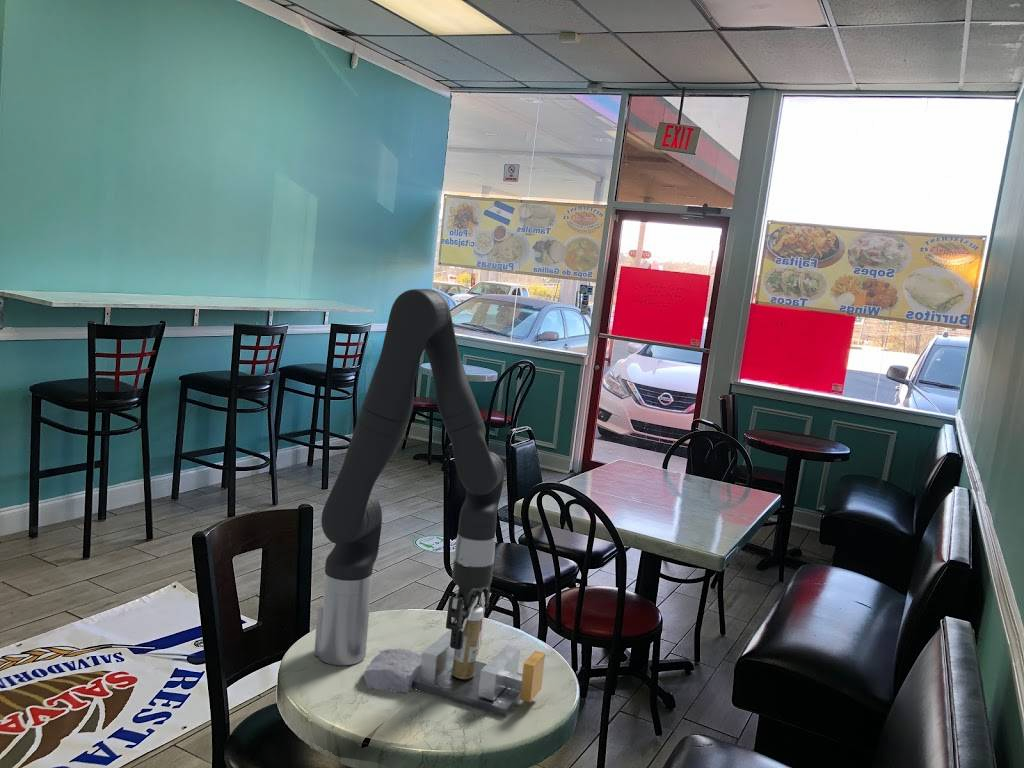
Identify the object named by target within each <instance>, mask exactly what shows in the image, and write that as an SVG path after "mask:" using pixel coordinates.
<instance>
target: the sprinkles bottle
mask: <svg viewBox="0 0 1024 768" xmlns="http://www.w3.org/2000/svg"><path fill="white" fill-rule="evenodd" d="M462 613H467V612H462ZM482 617H483V608H482V607H481V606H479V605H478V606H477V607H476V608H475V609H473V612H472V615H471V618H470V619H469V620H467V622H466V624H465V627H464V635H463V645H462V648H461V649H460V650H457V649H455V650H454V661H453V668H452V671H451V673H452V675H453V676H455V677H456V678H459V679H470V678H472V677H473V676H474V675H475V672H474V670H475V662H476V661H477V657H478V655H477V648H478V641H479V631H480V624H481V619H482ZM462 619H463V618H462ZM461 622H462V620H461Z"/></svg>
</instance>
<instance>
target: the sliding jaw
mask: <svg viewBox="0 0 1024 768" xmlns="http://www.w3.org/2000/svg"><path fill="white" fill-rule="evenodd" d="M520 655H521V649H520V648H516V647H513V646H509V645H505V646H504V647H502V649H501V650H500V651H499V652H498V653H497V654H495V656H493V658H492V659H490V660H489V662H487V663H486V664H487V665H486V666H484V667H483V668H482V669H481V674H480V684H479V694H478V696H480V697H483V698H486V699H489V700H493V701H494V699H495V698H496V697H497V696H498V695H499V694H500V693H501V692H502V691H503V689H504V688H505V687H508V688H511V689H514V690H518V691H521V694H520V701H524V702H527V703H531V702H532V701H533V700H534V699H535V697H536V696H537V695H538V694H539V692H540V691H541V690H542V687H543V677H544V670H545V669H544V668H545V660H546V658H545V657H546V653H544V652H541V651H538V650H534V651H533V653H532V654H531V655H529V657H528V658H527V659H526V660H525V661H524V662H523V667H522V668H523V669H522V674H523V676H522V675H518V673H519V664H520V657H521V656H520Z"/></svg>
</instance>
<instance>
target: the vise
mask: <svg viewBox="0 0 1024 768" xmlns="http://www.w3.org/2000/svg"><path fill="white" fill-rule="evenodd" d="M451 631H452V630H451V629H448V631H447V632H446V633H445V634H443V635H442V636H441V637H439V638H438V639H437V640H436V641H434V642H433V643H432V644H430V645H429V646H428V647H427V648H426V649H424V650H423V651H422V653H421V654H422V661H421V672H420V675H419V676H418V677H416V678H415V679H414V680H413V681H412V688H413V689H412V688H411V689H412V690H415V689H417V690H416V691H419V690H420V691H419V692H422V691H423V693H425V692H426V694H428V693H429V695H432V696H435V697H438V698H442V699H446V700H448V701H451V702H454V703H458V704H461V705H464V706H467V707H471V708H474V709H478V710H481V711H484V712H488V713H490V714H494V715H498V716H501V717H504V718H507V716H508V715H509V714H510V713H511V711H512V710H513V709H514V708H515V707H516V706H517V704H518V703H519V702H520V701H521V700H520V694H521V691H518V690H514V689H511V688H508V687H505V688H504V689H503V691H502V692H501V693H500V694H499V695H498V696H497V697H496V698H495V699H494V701H493V700H489V699H486V698H483V697H480V696H478V694H479V684H480V674H481V669H482V668H483V667H484V666H486V665H487V664H488V663H484V662H481V661H477V660H476V662H475V670H474V672H475V675H474V676H473V677H472V678H470V679H459V678H456V677H455V676H453V675H452V673H451V671H452V668H453V661H454V650H455V649H453V648H451V647H450V641H451ZM518 675H522V676H523V673H519V672H518Z"/></svg>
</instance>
